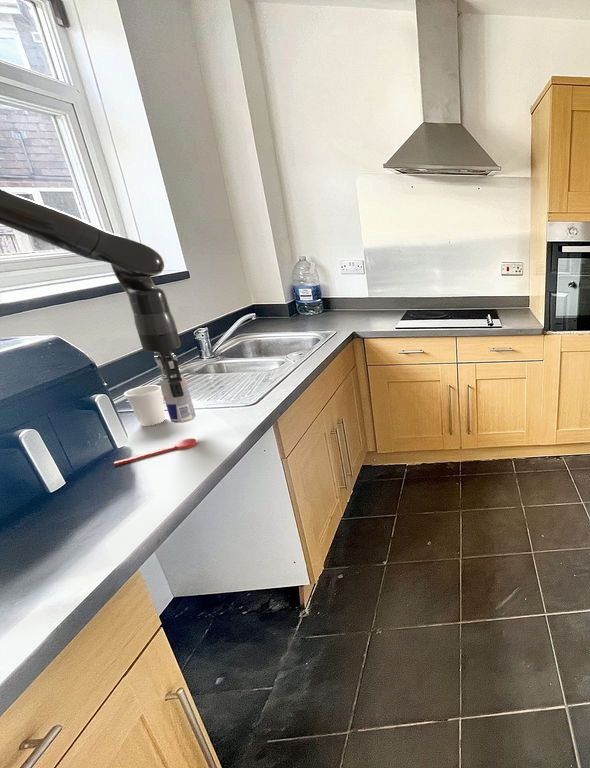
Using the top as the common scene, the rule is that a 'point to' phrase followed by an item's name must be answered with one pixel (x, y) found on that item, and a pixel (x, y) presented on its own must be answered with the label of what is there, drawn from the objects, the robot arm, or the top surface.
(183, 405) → the energy drink
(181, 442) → the spoon
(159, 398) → the dixie cup
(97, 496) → the top surface
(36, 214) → the robot arm
